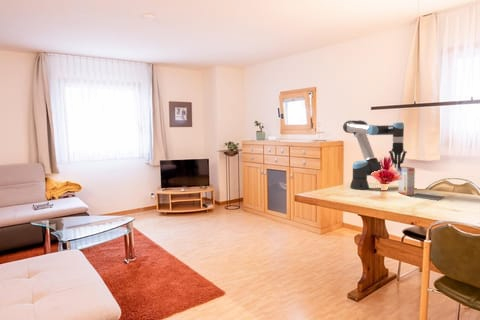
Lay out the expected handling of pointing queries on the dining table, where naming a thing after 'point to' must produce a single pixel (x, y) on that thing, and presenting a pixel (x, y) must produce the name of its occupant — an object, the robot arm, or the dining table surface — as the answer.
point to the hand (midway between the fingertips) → (397, 172)
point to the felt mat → (427, 196)
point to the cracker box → (406, 180)
